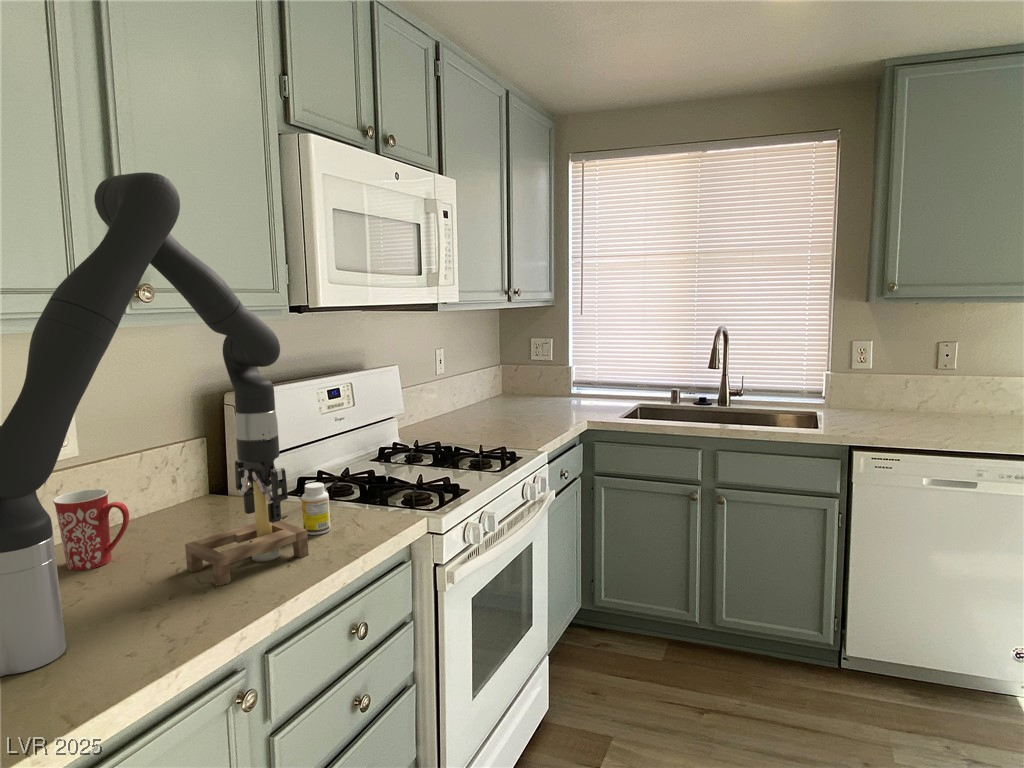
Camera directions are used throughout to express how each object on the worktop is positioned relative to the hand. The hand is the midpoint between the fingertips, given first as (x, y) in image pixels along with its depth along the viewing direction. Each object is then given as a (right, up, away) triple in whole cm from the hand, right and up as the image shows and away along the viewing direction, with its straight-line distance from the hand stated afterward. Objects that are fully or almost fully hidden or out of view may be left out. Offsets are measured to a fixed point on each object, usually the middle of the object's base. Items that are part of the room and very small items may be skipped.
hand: (262, 517), depth 133 cm
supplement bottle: (+6, -6, +15) cm, 17 cm away
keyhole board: (-2, -8, -2) cm, 9 cm away
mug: (-31, -9, -1) cm, 32 cm away
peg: (0, -8, +1) cm, 8 cm away
